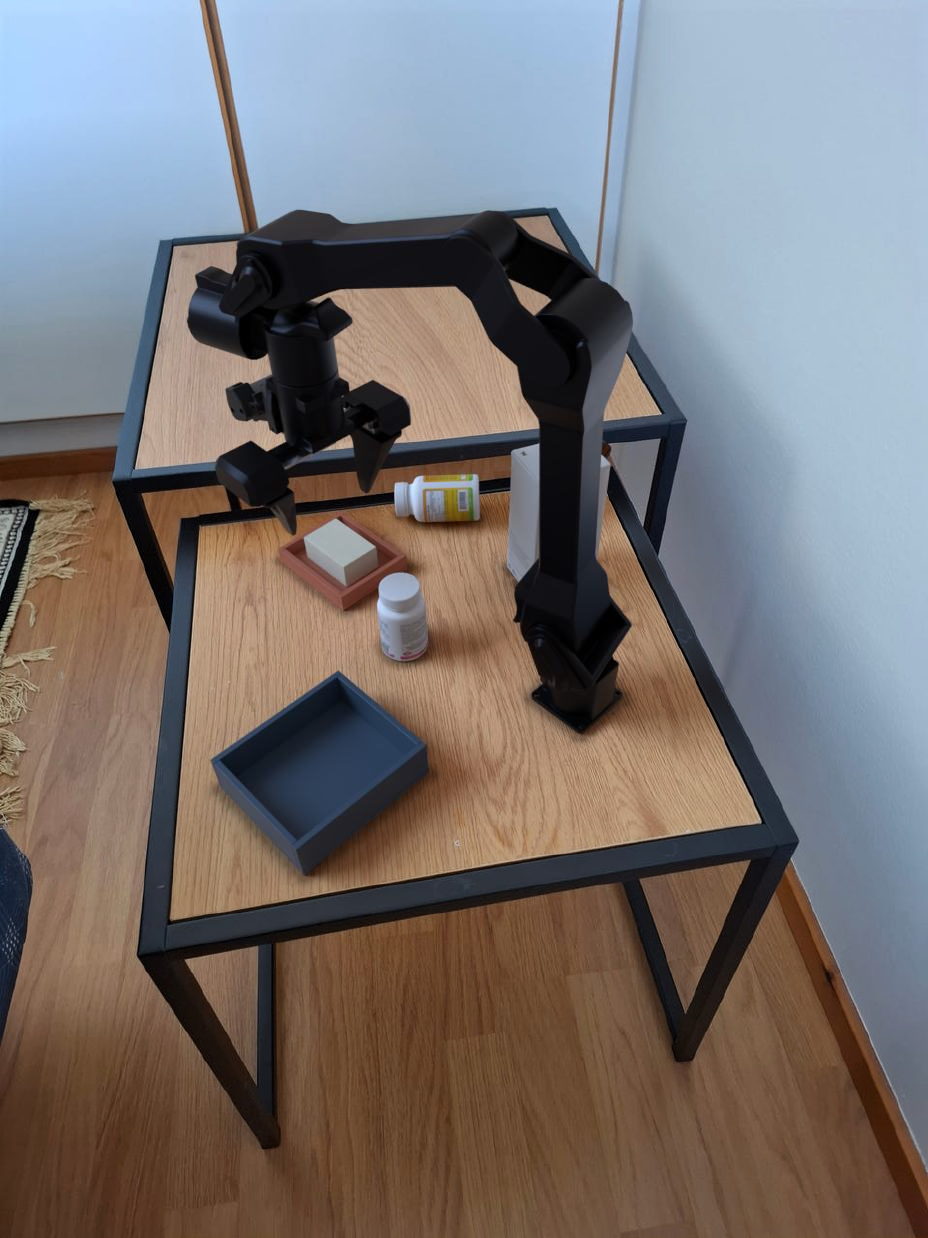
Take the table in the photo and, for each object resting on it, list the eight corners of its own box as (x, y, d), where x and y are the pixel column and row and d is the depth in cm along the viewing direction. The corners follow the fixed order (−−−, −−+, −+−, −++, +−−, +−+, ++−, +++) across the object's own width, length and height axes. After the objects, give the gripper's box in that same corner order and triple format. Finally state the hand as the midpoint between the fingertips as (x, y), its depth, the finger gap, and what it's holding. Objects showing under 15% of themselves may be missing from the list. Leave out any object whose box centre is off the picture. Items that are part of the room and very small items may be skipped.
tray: (407, 569, 98) (406, 555, 96) (343, 611, 93) (341, 597, 92) (343, 523, 103) (341, 510, 102) (280, 561, 99) (277, 548, 97)
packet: (378, 567, 97) (376, 546, 95) (346, 587, 95) (343, 567, 93) (338, 538, 101) (335, 518, 99) (307, 557, 98) (303, 537, 96)
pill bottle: (433, 632, 91) (429, 573, 85) (421, 666, 88) (417, 607, 82) (389, 625, 92) (382, 566, 86) (376, 658, 88) (368, 599, 82)
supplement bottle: (479, 491, 105) (399, 493, 106) (478, 464, 101) (394, 466, 101) (480, 529, 103) (398, 531, 103) (479, 503, 98) (393, 506, 98)
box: (429, 773, 79) (427, 744, 76) (304, 876, 72) (296, 850, 69) (343, 698, 85) (338, 669, 82) (220, 787, 78) (209, 759, 75)
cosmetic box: (530, 602, 94) (537, 486, 82) (503, 565, 98) (506, 449, 87) (598, 580, 96) (614, 463, 85) (569, 544, 100) (580, 428, 89)
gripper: (332, 303, 84) (351, 440, 95) (162, 377, 75) (204, 518, 87) (409, 343, 78) (419, 483, 90) (234, 428, 70) (270, 572, 81)
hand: (329, 511), depth 87 cm, fingers open, 9 cm apart
